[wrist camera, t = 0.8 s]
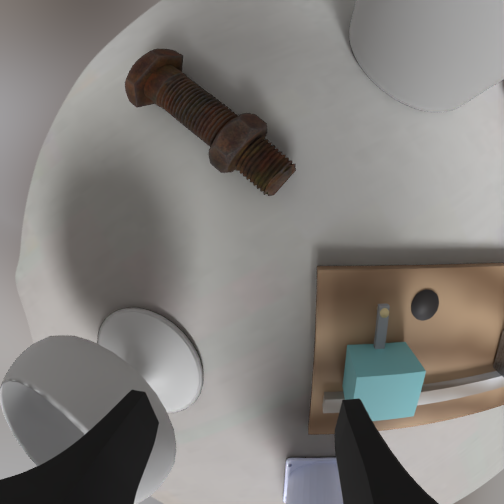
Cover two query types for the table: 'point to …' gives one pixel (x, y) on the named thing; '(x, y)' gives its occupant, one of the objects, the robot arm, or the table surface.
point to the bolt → (209, 120)
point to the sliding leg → (383, 374)
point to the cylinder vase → (430, 49)
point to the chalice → (102, 386)
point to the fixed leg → (500, 357)
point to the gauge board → (412, 335)
